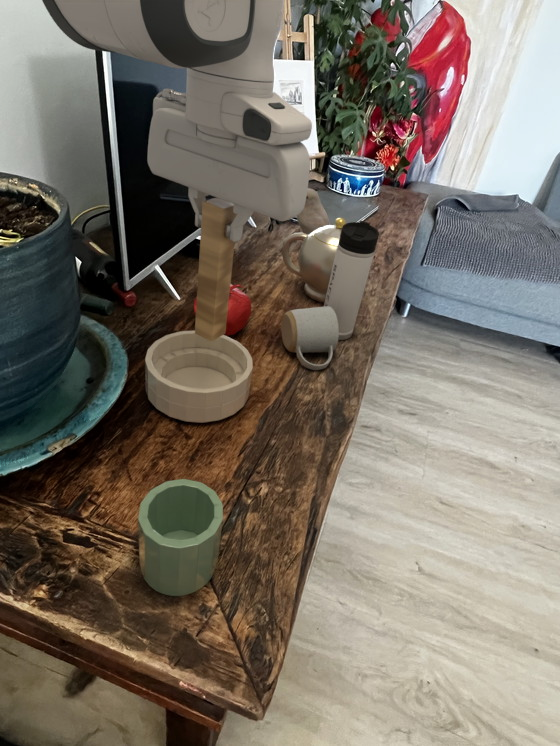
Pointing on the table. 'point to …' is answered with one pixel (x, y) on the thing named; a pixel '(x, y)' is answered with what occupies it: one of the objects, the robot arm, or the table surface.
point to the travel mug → (350, 273)
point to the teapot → (315, 258)
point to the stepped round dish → (197, 376)
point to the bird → (312, 213)
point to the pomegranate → (235, 310)
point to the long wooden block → (214, 269)
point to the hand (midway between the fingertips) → (218, 233)
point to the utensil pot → (179, 536)
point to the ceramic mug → (310, 333)
